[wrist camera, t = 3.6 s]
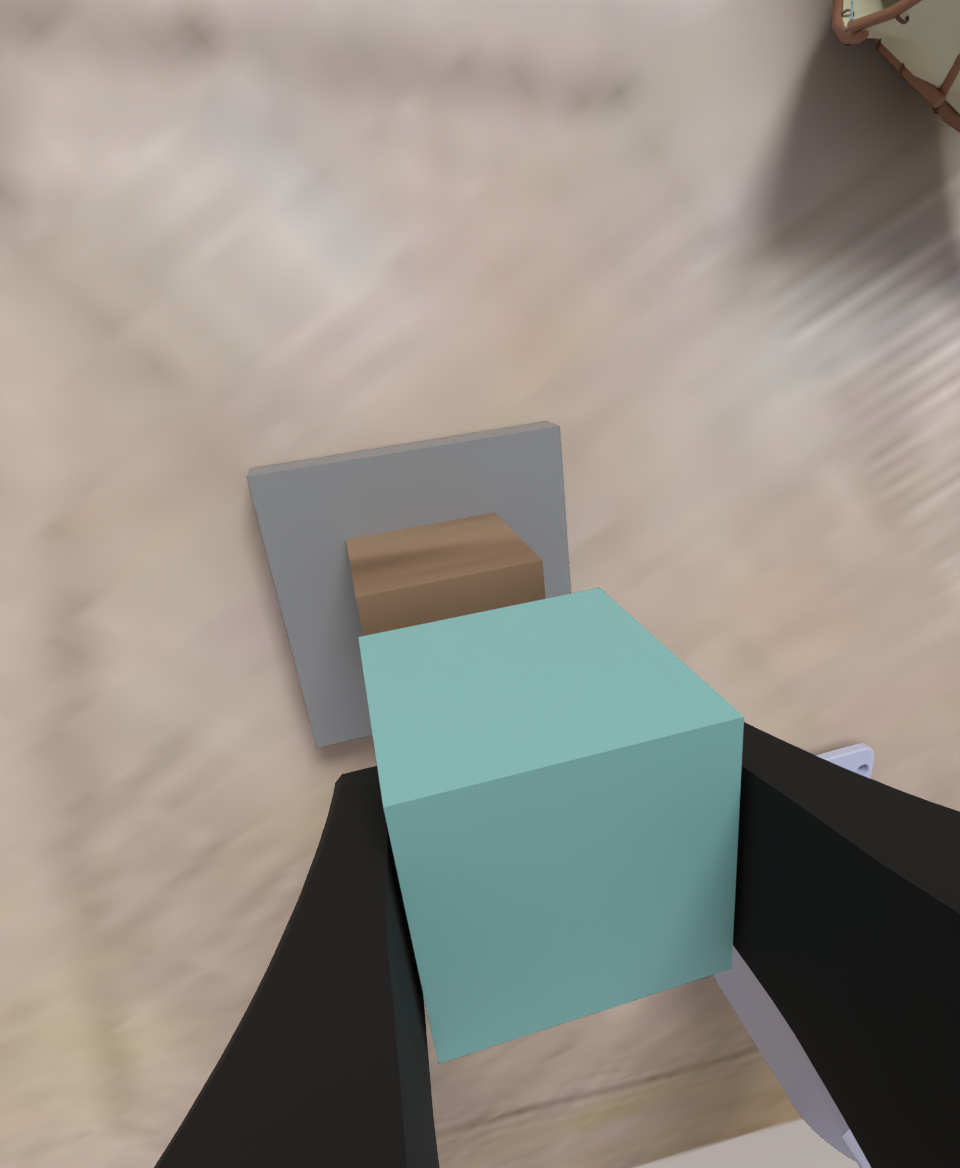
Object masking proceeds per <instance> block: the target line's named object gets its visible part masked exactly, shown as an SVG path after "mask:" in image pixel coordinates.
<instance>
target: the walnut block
mask: <svg viewBox="0 0 960 1168" xmlns="http://www.w3.org/2000/svg"><path fill="white" fill-rule="evenodd" d="M346 544H347V550H348V556H349V562H350V568H351V574H352V580H353V586H354V592H355V598H356V602H357V607H358V612H359V617H360V622H361V627H362V631H363V636H366V635H371V634H376V633H381V632H386V631H391V630H396V629H401V628H405V627H410V626H415V625H420V624H425V623H430V622H435V621H440V620H445V619H449V618H454V617H459V616H464V615H469V614H474V613H479V612H484V611H489V610H493V609H498V608H503V607H508V606H513V605H518V604H523V603H528V602H533V601H537V600H542V599H546V597H545V585H544V573H543V561H542V559H541V558H540V557H539V556H538V555H537V554H536V553H535V552H534V551H533V550H532V549H531V548H530V547H529V546H528V545H527V544H526V543H525V542H524V541H523V540H522V539H521V538H520V537H519V536H518V535H517V534H516V533H515V532H514V531H513V530H512V529H511V528H510V527H509V526H508V525H507V524H506V523H505V522H504V521H503V520H502V519H501V518H500V517H499V516H498V515H497V514H496V513H489V514H484V515H478V516H473V517H467V518H462V519H456V520H451V521H445V522H440V523H434V524H429V525H424V526H418V527H413V528H407V529H402V530H396V531H391V532H385V533H380V534H374V535H369V536H363V537H358V538H352V539H347V540H346Z"/></svg>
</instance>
